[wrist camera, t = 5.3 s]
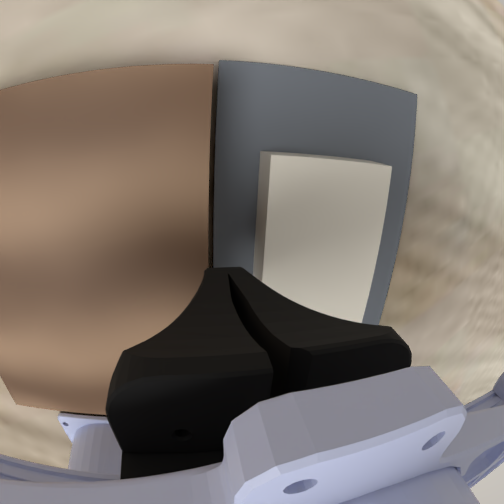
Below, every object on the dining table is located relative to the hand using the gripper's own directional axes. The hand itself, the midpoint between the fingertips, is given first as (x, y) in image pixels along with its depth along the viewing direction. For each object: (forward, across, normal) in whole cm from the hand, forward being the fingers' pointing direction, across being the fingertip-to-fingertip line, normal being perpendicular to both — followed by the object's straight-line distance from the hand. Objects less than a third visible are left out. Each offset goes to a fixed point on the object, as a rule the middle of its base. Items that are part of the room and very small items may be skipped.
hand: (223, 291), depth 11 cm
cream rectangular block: (+2, -5, 0) cm, 6 cm away
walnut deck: (+5, +6, 0) cm, 8 cm away
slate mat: (+5, -6, 0) cm, 7 cm away
